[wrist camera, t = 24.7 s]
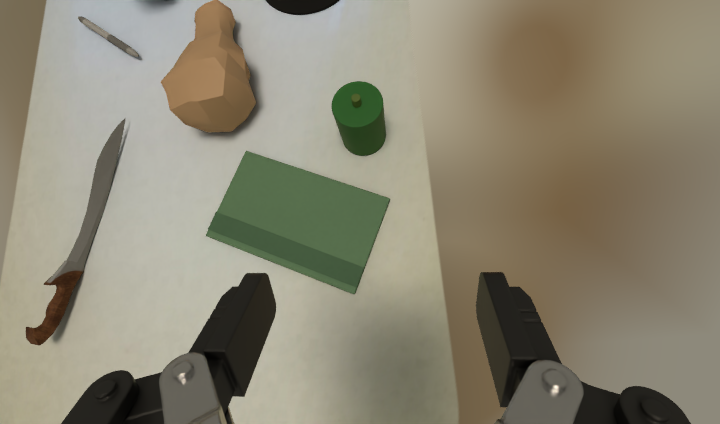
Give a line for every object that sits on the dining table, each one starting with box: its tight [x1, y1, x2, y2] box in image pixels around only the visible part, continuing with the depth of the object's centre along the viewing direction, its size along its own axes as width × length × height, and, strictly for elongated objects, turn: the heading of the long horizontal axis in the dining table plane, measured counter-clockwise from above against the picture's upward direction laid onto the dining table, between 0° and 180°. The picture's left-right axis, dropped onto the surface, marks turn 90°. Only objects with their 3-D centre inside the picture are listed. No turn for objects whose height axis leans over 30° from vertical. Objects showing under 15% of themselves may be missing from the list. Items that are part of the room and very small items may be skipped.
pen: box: [78, 17, 139, 57], centre depth 53 cm, size 1×14×1 cm, turn 55°
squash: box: [161, 0, 256, 132], centre depth 46 cm, size 11×20×9 cm, turn 11°
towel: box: [206, 151, 390, 294], centre depth 43 cm, size 20×12×1 cm, turn 69°
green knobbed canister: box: [332, 81, 386, 156], centre depth 41 cm, size 6×6×9 cm
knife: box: [26, 119, 125, 345], centre depth 44 cm, size 4×1×30 cm
